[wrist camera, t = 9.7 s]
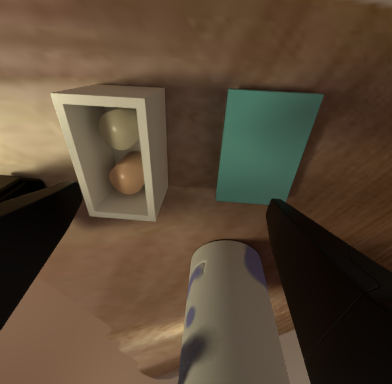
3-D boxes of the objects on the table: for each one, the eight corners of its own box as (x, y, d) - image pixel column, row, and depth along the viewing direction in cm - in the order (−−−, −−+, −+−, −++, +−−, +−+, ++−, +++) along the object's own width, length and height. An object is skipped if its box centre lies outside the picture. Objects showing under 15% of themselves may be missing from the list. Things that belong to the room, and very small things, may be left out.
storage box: (168, 186, 23) (155, 221, 18) (116, 182, 23) (89, 216, 18) (164, 87, 17) (144, 98, 12) (96, 84, 18) (50, 93, 13)
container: (188, 238, 27) (147, 523, 10) (264, 239, 26) (354, 555, 9) (194, 282, 33) (173, 516, 16) (257, 284, 32) (306, 536, 15)
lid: (278, 195, 23) (284, 206, 21) (215, 190, 23) (215, 200, 21) (313, 91, 17) (324, 94, 15) (227, 86, 17) (228, 89, 15)
